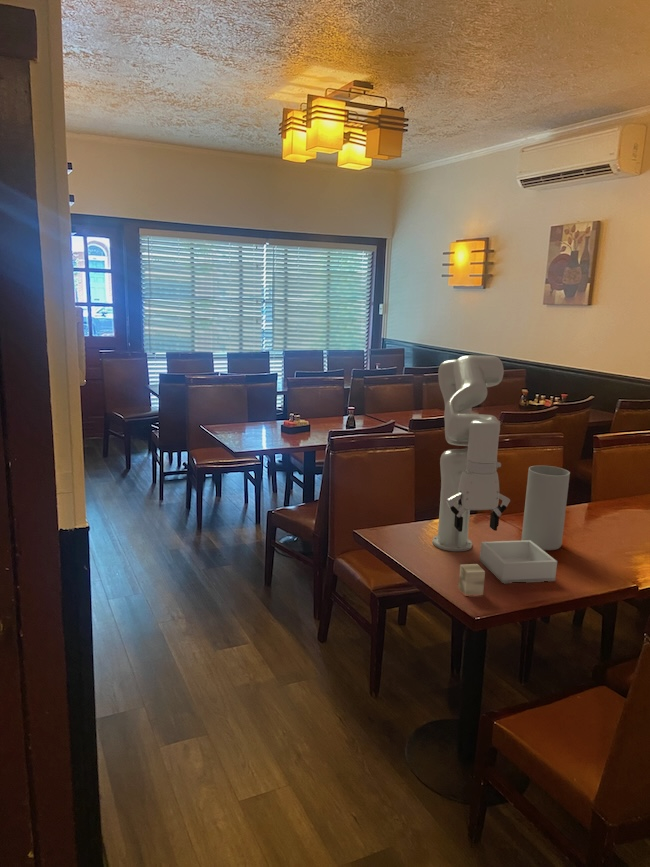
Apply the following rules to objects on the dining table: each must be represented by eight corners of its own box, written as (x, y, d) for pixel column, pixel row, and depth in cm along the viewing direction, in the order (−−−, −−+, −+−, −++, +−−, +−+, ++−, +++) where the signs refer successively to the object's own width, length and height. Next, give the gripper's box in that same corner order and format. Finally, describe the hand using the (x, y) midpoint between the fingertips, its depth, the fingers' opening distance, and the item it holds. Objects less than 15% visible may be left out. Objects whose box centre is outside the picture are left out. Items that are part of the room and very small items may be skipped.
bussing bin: (479, 560, 191) (481, 541, 190) (528, 558, 194) (530, 540, 193) (502, 583, 176) (504, 563, 175) (555, 581, 178) (557, 561, 177)
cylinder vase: (514, 543, 206) (521, 469, 201) (532, 534, 215) (539, 463, 209) (550, 554, 197) (559, 478, 192) (567, 544, 206) (576, 471, 201)
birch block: (458, 588, 172) (460, 564, 171) (475, 587, 173) (477, 563, 172) (465, 596, 167) (467, 572, 166) (482, 595, 168) (485, 571, 167)
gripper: (506, 463, 168) (500, 523, 171) (444, 463, 165) (440, 525, 168) (518, 470, 161) (512, 533, 164) (454, 471, 158) (449, 535, 161)
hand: (475, 529), depth 166 cm, fingers open, 9 cm apart
